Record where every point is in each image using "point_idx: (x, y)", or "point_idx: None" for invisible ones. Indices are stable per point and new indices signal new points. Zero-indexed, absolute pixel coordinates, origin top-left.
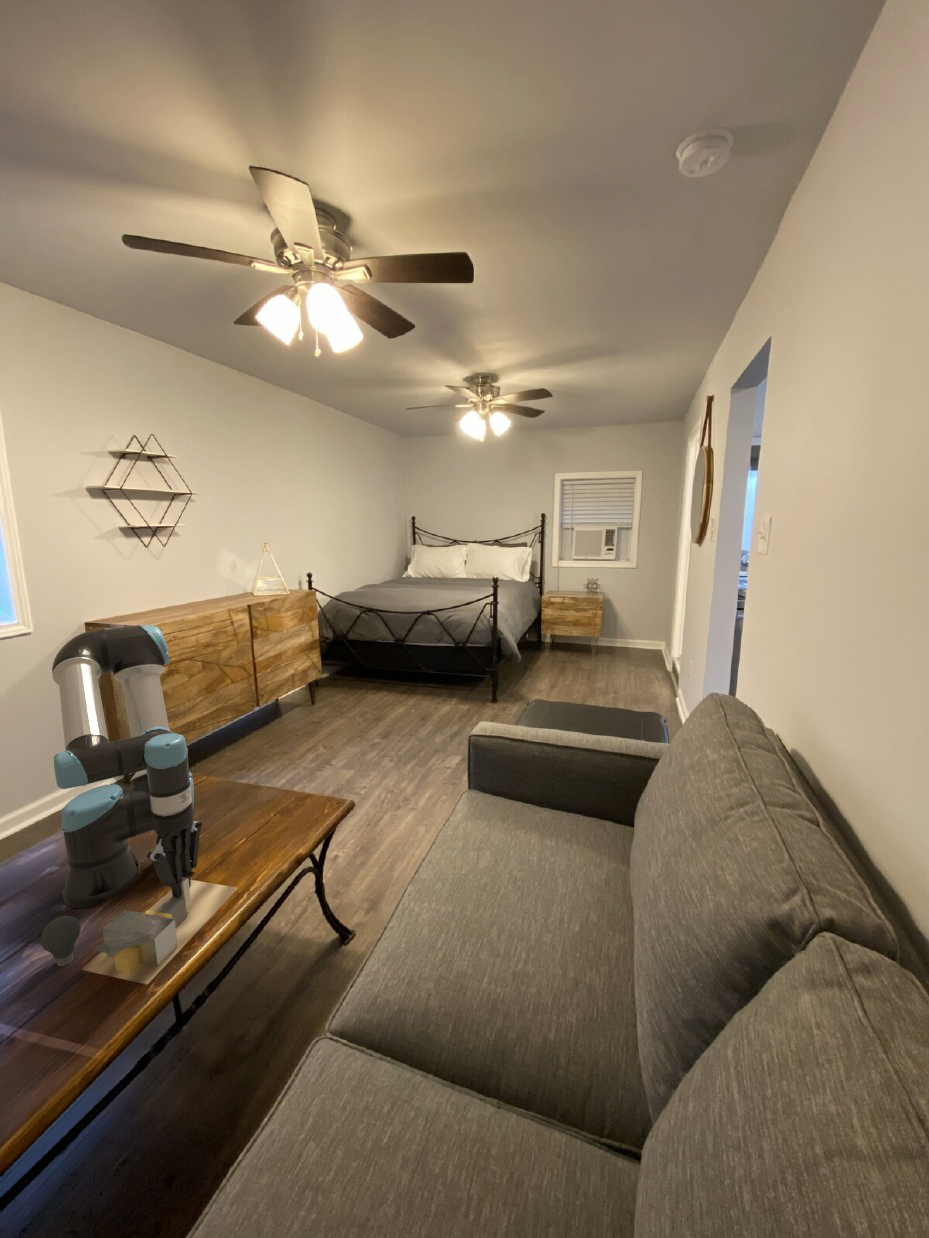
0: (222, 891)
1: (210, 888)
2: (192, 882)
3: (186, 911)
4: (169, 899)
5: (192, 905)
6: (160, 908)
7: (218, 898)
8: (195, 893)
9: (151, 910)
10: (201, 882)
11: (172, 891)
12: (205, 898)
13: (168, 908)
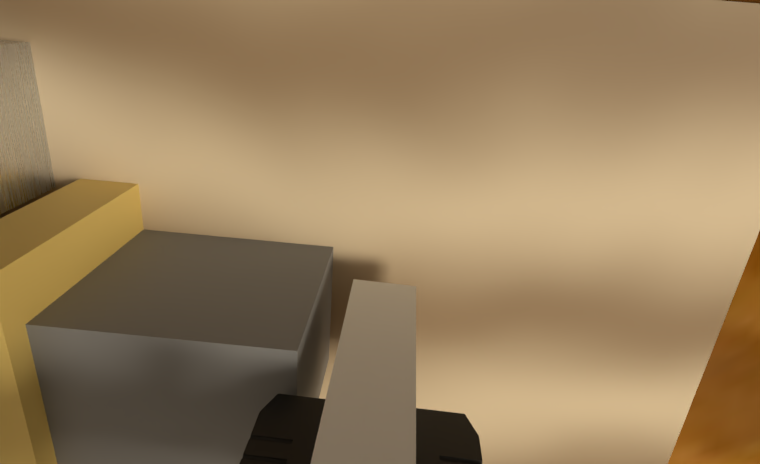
0: (608, 446)
1: (649, 352)
2: (756, 153)
3: (321, 387)
4: (248, 361)
5: (444, 329)
6: (107, 357)
7: (531, 454)
8: (586, 274)
9: (343, 10)
10: (744, 238)
11: (244, 460)
12: (528, 375)
13: (135, 427)
